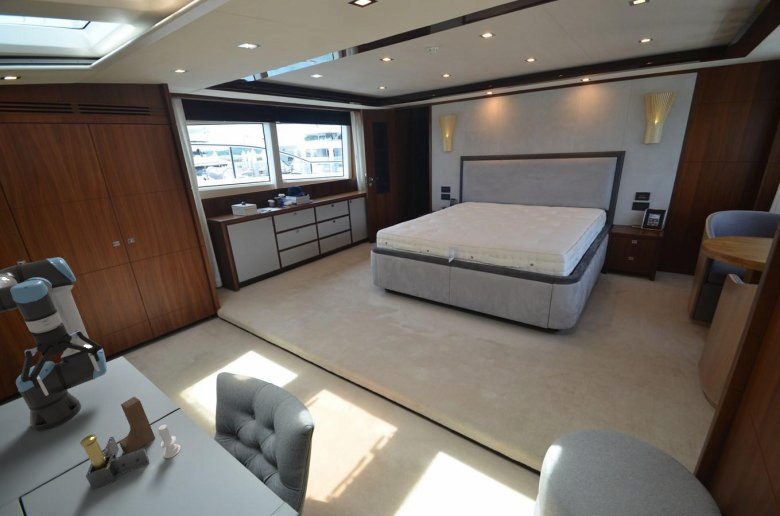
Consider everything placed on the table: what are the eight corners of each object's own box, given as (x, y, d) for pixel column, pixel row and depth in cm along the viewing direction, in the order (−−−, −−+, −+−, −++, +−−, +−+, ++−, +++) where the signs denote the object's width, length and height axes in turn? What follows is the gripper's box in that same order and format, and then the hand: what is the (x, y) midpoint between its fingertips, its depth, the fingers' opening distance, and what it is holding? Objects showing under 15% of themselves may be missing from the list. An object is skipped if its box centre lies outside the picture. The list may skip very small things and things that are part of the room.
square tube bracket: (107, 452, 121) (101, 440, 119) (155, 436, 126) (150, 423, 124) (92, 489, 108) (85, 476, 106) (147, 469, 113) (141, 456, 111)
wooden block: (128, 457, 118) (110, 417, 112) (122, 451, 121) (104, 412, 115) (155, 438, 125) (140, 400, 119) (150, 433, 128) (134, 395, 122)
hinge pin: (98, 479, 111) (78, 441, 105) (112, 470, 114) (93, 432, 108) (102, 485, 109) (82, 446, 103) (116, 475, 112) (97, 437, 106)
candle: (166, 461, 116) (155, 435, 112) (161, 452, 119) (151, 426, 115) (183, 450, 119) (173, 424, 115) (178, 442, 123) (168, 417, 119)
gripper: (-9, 351, 96) (24, 409, 103) (98, 313, 115) (120, 364, 122) (-13, 344, 100) (19, 400, 107) (91, 308, 119) (112, 357, 126)
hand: (73, 381), depth 115 cm, fingers open, 13 cm apart
